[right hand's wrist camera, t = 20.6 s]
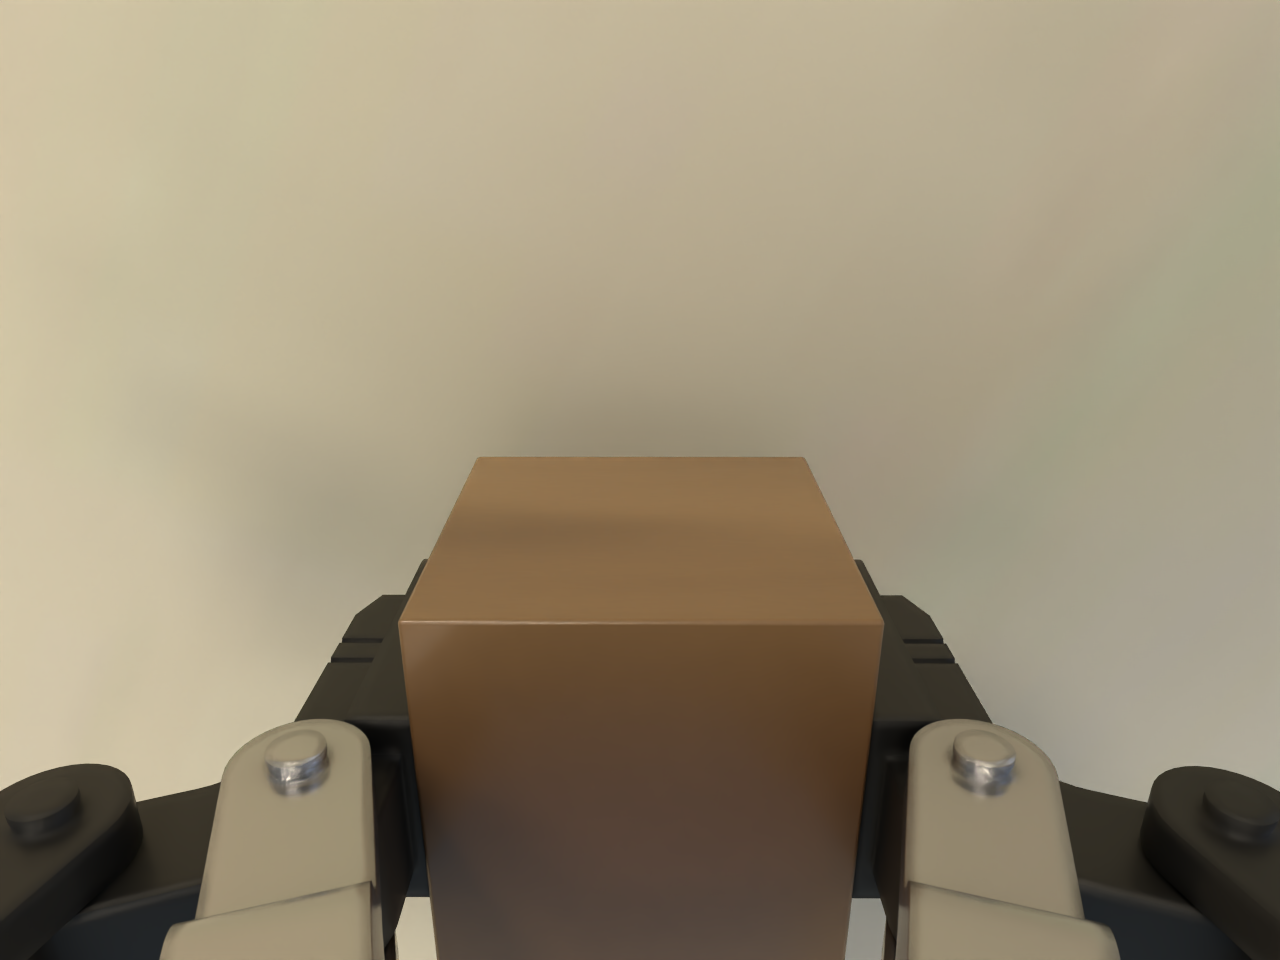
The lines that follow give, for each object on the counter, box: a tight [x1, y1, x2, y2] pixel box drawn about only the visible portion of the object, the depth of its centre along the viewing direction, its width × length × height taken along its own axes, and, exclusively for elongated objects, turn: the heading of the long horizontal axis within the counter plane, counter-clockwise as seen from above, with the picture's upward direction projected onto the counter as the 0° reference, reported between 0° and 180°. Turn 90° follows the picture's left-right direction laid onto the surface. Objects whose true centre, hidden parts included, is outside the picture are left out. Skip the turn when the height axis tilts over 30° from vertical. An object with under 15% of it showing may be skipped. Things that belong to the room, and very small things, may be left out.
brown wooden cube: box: [398, 457, 884, 960], centre depth 11 cm, size 4×4×4 cm
